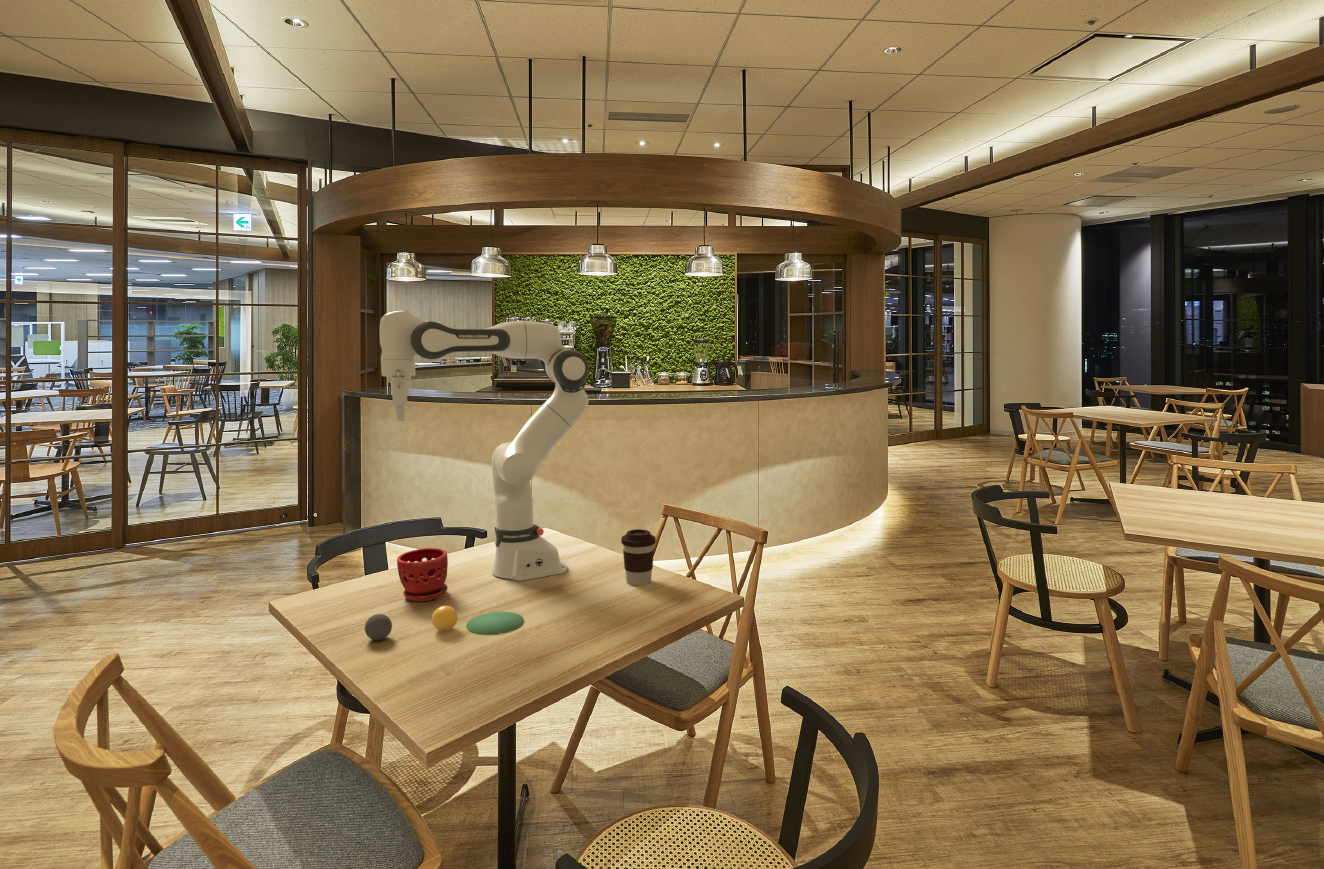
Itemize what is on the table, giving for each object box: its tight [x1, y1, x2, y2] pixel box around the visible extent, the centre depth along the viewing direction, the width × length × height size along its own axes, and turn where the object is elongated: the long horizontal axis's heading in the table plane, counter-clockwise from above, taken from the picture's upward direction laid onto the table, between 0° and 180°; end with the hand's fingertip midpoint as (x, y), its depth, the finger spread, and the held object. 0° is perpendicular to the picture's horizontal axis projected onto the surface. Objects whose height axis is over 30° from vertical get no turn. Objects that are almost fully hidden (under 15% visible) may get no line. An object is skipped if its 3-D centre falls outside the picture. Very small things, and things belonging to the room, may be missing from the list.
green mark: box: [465, 611, 525, 635], centre depth 177 cm, size 14×14×1 cm
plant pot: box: [396, 547, 449, 602], centre depth 195 cm, size 13×13×12 cm
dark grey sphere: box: [364, 613, 393, 641], centre depth 167 cm, size 6×6×6 cm
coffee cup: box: [620, 528, 657, 587], centre depth 206 cm, size 10×10×15 cm
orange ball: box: [431, 605, 459, 632], centre depth 172 cm, size 6×6×6 cm
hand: (401, 419), depth 199 cm, fingers open, 8 cm apart
